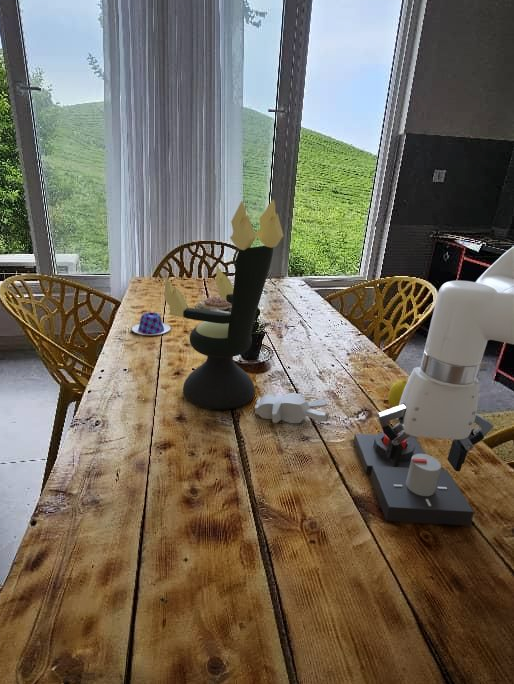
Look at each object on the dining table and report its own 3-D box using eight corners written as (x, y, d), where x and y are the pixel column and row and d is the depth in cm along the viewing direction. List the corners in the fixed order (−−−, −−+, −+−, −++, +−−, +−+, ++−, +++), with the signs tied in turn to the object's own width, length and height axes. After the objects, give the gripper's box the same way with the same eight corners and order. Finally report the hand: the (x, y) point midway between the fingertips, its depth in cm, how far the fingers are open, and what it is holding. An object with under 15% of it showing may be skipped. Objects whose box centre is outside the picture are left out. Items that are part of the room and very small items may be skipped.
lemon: (387, 416, 98) (393, 384, 95) (383, 404, 103) (389, 373, 100) (413, 419, 98) (420, 387, 94) (408, 407, 103) (415, 376, 100)
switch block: (413, 445, 88) (417, 428, 87) (432, 479, 79) (437, 460, 78) (353, 442, 89) (356, 425, 87) (365, 475, 79) (368, 457, 78)
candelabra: (214, 369, 117) (219, 189, 100) (288, 396, 105) (308, 197, 88) (164, 396, 102) (160, 192, 85) (243, 431, 91) (257, 202, 74)
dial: (428, 478, 74) (435, 452, 73) (438, 497, 70) (446, 470, 68) (402, 477, 75) (408, 451, 73) (411, 495, 70) (417, 468, 68)
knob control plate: (443, 483, 78) (447, 468, 77) (469, 526, 69) (474, 511, 68) (369, 479, 78) (372, 464, 77) (385, 522, 69) (389, 506, 68)
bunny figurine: (259, 386, 100) (327, 389, 97) (260, 406, 102) (327, 409, 99) (251, 407, 92) (325, 410, 88) (253, 428, 94) (325, 432, 90)
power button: (401, 438, 84) (403, 430, 84) (408, 451, 81) (410, 443, 80) (380, 437, 84) (381, 429, 84) (386, 449, 81) (388, 441, 80)
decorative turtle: (186, 304, 167) (186, 291, 166) (226, 300, 174) (227, 288, 172) (204, 320, 152) (204, 306, 150) (247, 315, 159) (248, 301, 157)
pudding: (177, 333, 140) (176, 317, 138) (141, 340, 133) (140, 323, 132) (160, 321, 149) (160, 306, 147) (126, 327, 143) (125, 312, 141)
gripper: (495, 360, 68) (466, 453, 74) (382, 352, 68) (363, 446, 74) (523, 383, 61) (489, 483, 67) (397, 374, 61) (375, 475, 67)
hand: (423, 463), depth 71 cm, fingers open, 9 cm apart
